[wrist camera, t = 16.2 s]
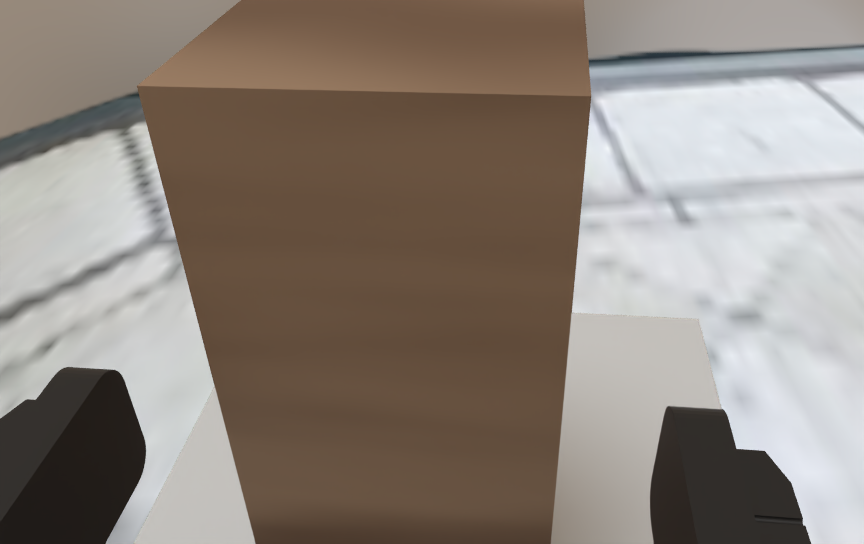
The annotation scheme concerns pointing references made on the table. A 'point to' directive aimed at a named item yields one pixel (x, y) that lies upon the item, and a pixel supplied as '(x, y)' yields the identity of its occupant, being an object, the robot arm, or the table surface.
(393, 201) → the walnut block
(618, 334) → the mat
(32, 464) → the robot arm
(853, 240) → the table surface
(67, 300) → the table surface
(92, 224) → the table surface
